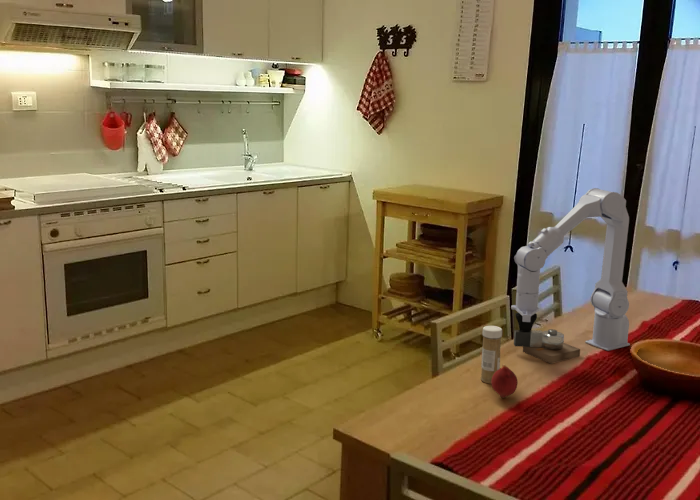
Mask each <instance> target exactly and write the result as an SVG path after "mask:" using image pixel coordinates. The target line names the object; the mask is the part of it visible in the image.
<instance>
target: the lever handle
mask: <svg viewBox="0 0 700 500" xmlns="http://www.w3.org/2000/svg"><path fill="white" fill-rule="evenodd" d="M513 332H514V333H513V345H514V346H513V347H522V348H523V347H544V348H547V349H562V348H563V343H565V342H564V340H565V334H564V333H563V332H560V331H558V330H557V329H552V328H551V329H548V330H543V331H542V330H541V329H540V330H538V329H537V330H536V329H535V330H533V329H532V330H519V329H514V330H513Z"/></svg>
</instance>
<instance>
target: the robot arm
mask: <svg viewBox="0 0 700 500" xmlns="http://www.w3.org/2000/svg"><path fill="white" fill-rule="evenodd" d="M626 206H627V200H626V199H625V197H624V196H622V195H621V194H620V193H619V192H616V191H610V190H605V189H600V188H598V187H593V188H590V189H588V190H587V192H586V193H585V194H583V195H581V197H580V198H579V199H578V202H577V203H576V204H575V206H574V207H573V208H572V209H570V211H568V213H567V214H566V215H565V216H564V217H563V218H562V219H561V220H559V222H558V223H557V224H555V226H547V227H546V228H545V227H543V229H541V230H540V232H541V233H539V234H538V235H537V236H536V237H535V238H534V239H533V240H531V241H529V242H528V243H527V245H525V246H521V247H520V248H519V249H518V250H517V252H516V254H515V255H514V257H513V259H514V262H515V264H516V265H517V278H516V294H515V295H516V296H515V304H513V305H511V307H510V308H511V310H515V311H516V313H515V314H514V316H515V318H516V320H517V324H518V327H519V328H518V330H533V326H534V324H535V322H536V321H537V319H538V314H537V312H539V293H540V291H539V290H540V289H539V288H540V278H541V277H540V276H541V275H540V274H541V269H542V268H544V266H545V264H546V260H547V259H548V257H549V256H550V255H551V254H552V253H554V252H555V250H556V249H558V248H559V247H560V246H561V245H562V244H563V243H564V240H565V239H564V237H565V236H566V235H567V234H568V233H570V232H571V231H573V229H575V228H576V227H578V226H579V224H581V223H582V222H583V221H584V220H586V219H587V218H597V217H598V218H599V217H600V218H601V219H602V221H604V222H605V223H606V230H605V238H604V239H605V240H604V247H603V248H604V249H603V259H602V266H601V276H600V279H599V280H598V281H597V282H596V283H595V284H594V289H593V291H592V293H591V296H590V303H591V306H593V308H594V309H593V310H594V311H593V312H594V315H593V316H594V319H593V327H592V328H593V329H592V339H588V340H585V344H587V345H591V346H594V347H596V348H598V349H602V350H605V351H607V352H610V351H613V350H616V349H620V348H624V347H628V346H630V345H631V344H630V342H628V339H629V338H628V337H629V328H630V320H629V318H628V316H627V315H626V313H628V310H629V308H630V301H629V299H628V290H627V288H626V286H625V284H624V282H623V278H624V277H623V276H624V269H625V268H624V267H625V260H626V252H627V251H626V249H627V243H628V233H629V224H630V216H629V213H628V209H627V207H626Z"/></svg>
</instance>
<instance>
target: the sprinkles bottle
mask: <svg viewBox="0 0 700 500" xmlns="http://www.w3.org/2000/svg"><path fill="white" fill-rule="evenodd" d="M482 337H483V338H482V347H481V349H482V350H481V366H480V367H481V373H480V380H481V381H482V382H484V383H485V384H490V385H491V380H492V377H493V375H494V373H495V372H496V371H497V370H498V369H500V368H501V367H500V366H501V340H502V337H503V329H502V328H501V327H499V326H496V325H486V326H484V327H483V328H482Z"/></svg>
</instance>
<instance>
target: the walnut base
mask: <svg viewBox="0 0 700 500" xmlns="http://www.w3.org/2000/svg"><path fill="white" fill-rule="evenodd" d="M524 352H525V353H524ZM522 353H524V354H526V355H529V356H531V357H533V358H536V359H538V360H541V361H543V362H546V363H548V364H550V365H551V364H555V363H559V362H562V361H566V360H570V359H574V358H579V357H580V356H581V348H578V347H576V346H573V345H571V344H567V343H566V342H564V343H563V348H562V349H547V348H544V347H522Z"/></svg>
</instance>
